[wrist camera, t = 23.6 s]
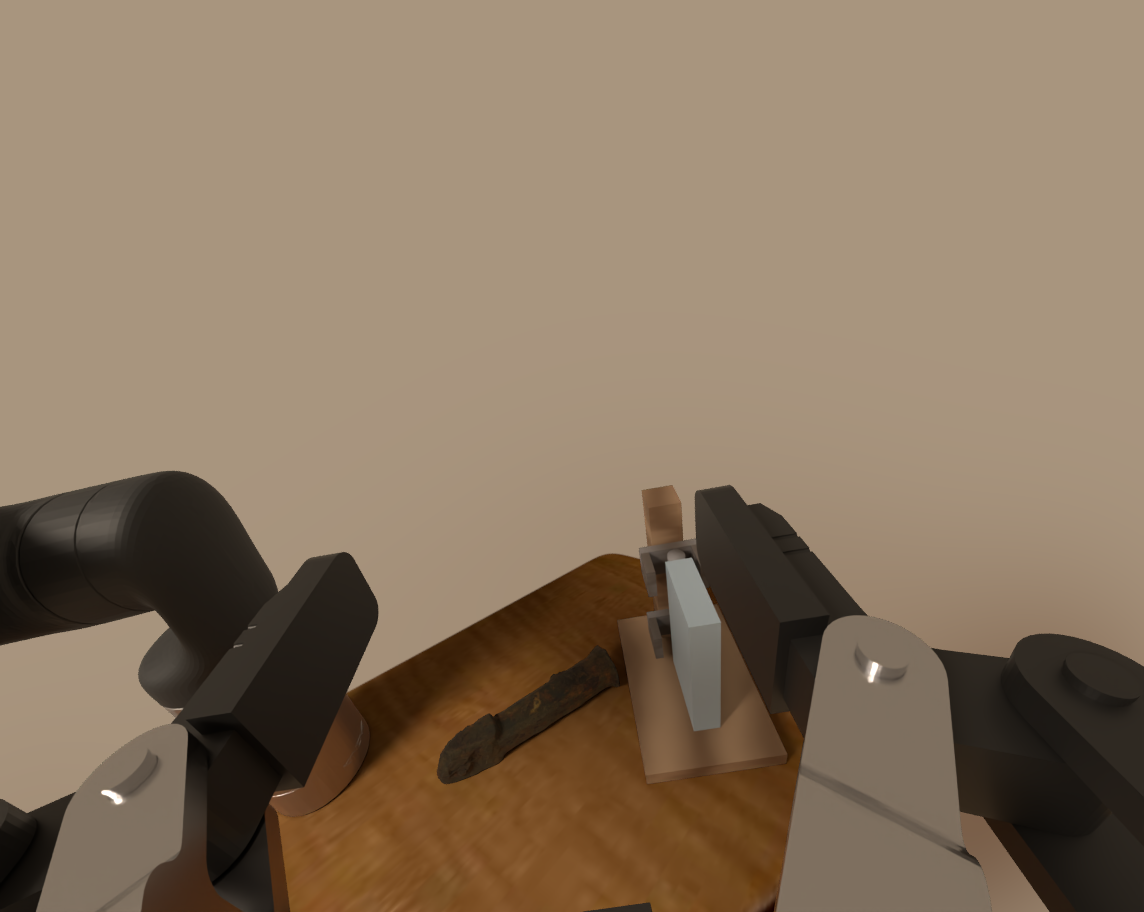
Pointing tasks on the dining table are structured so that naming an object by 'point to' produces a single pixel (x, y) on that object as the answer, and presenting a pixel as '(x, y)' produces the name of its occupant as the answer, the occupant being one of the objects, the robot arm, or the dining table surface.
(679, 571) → the cabinet door
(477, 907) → the dining table surface
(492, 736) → the hand tool
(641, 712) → the hinge frame
